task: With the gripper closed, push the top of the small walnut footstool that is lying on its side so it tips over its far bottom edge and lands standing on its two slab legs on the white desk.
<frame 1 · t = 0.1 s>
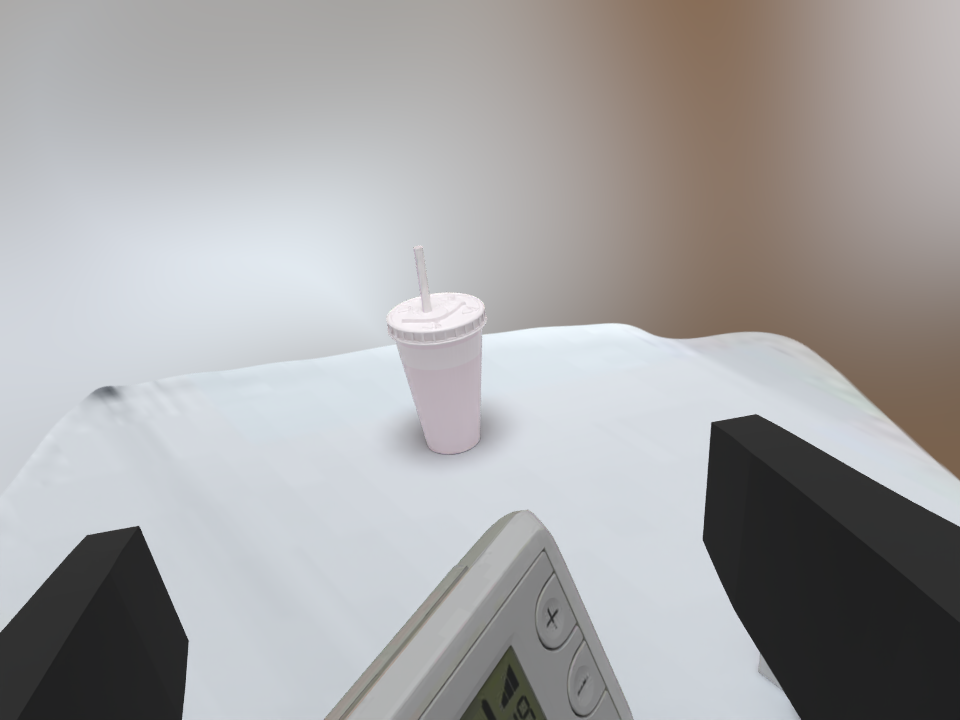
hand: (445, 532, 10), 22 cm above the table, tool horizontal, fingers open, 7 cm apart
smoothie: (454, 441, 52), on the table
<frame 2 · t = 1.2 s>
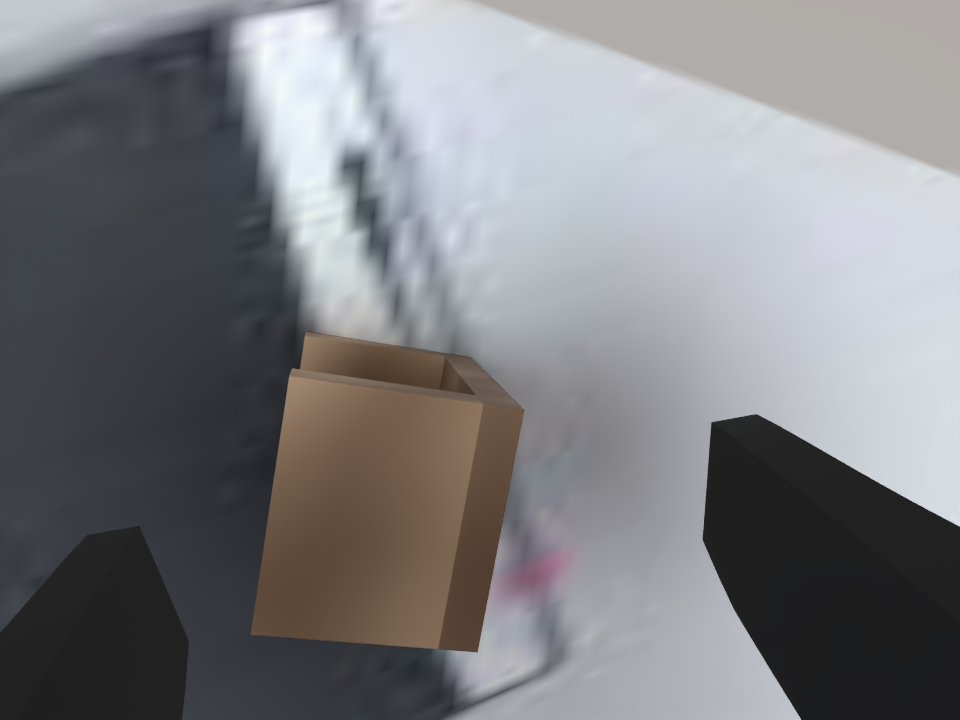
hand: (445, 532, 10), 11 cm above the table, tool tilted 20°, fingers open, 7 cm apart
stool: (360, 432, 21), on the table
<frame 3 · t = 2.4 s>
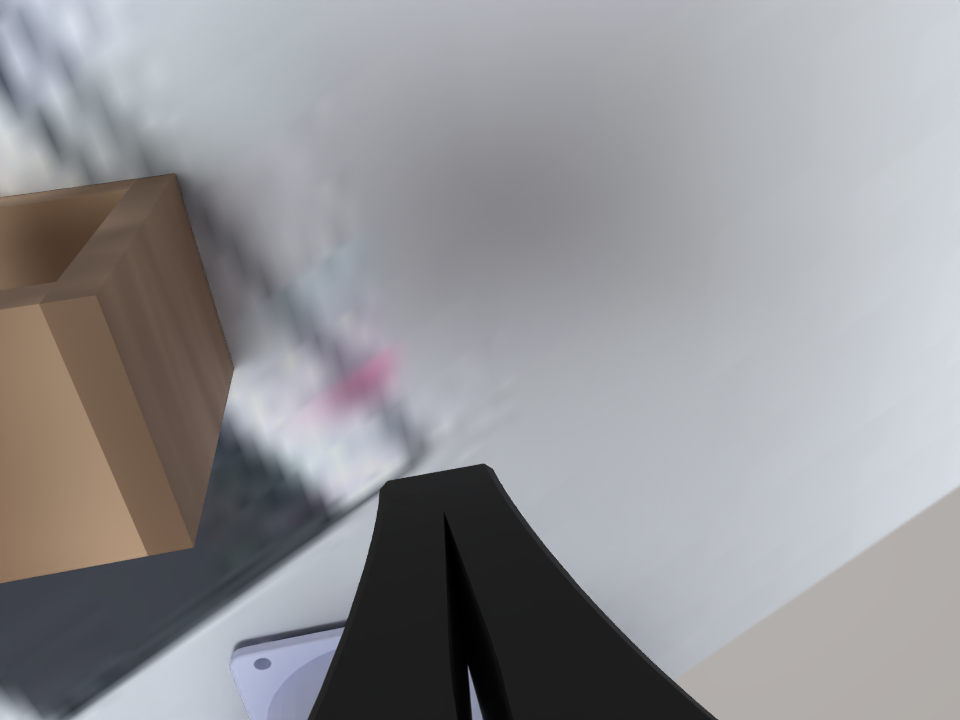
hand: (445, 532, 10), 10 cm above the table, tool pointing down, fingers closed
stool: (92, 295, 18), on the table
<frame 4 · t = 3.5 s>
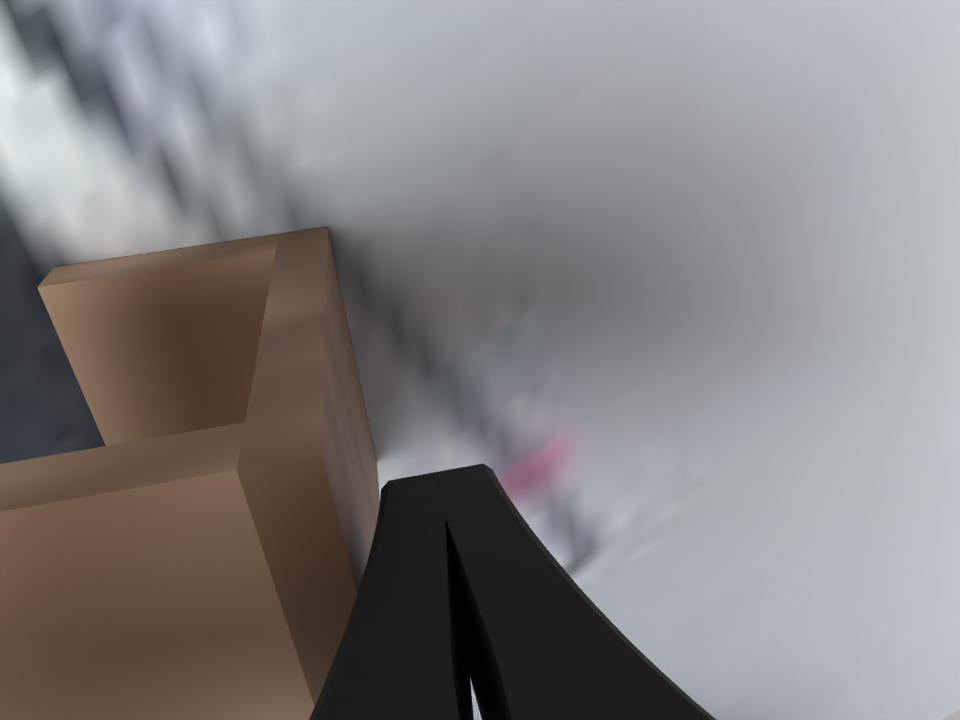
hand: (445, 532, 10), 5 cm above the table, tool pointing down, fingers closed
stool: (210, 379, 14), on the table, touching gripper
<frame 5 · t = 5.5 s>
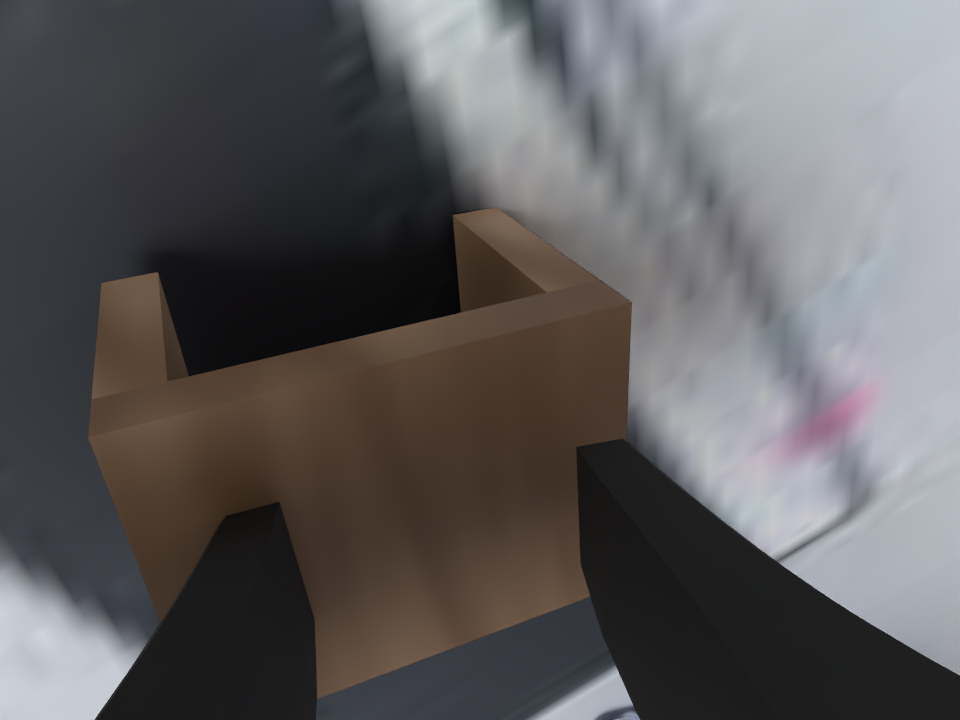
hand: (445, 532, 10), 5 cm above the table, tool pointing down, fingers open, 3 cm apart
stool: (544, 376, 13), point 2 cm above the table, tilted 77°, touching gripper
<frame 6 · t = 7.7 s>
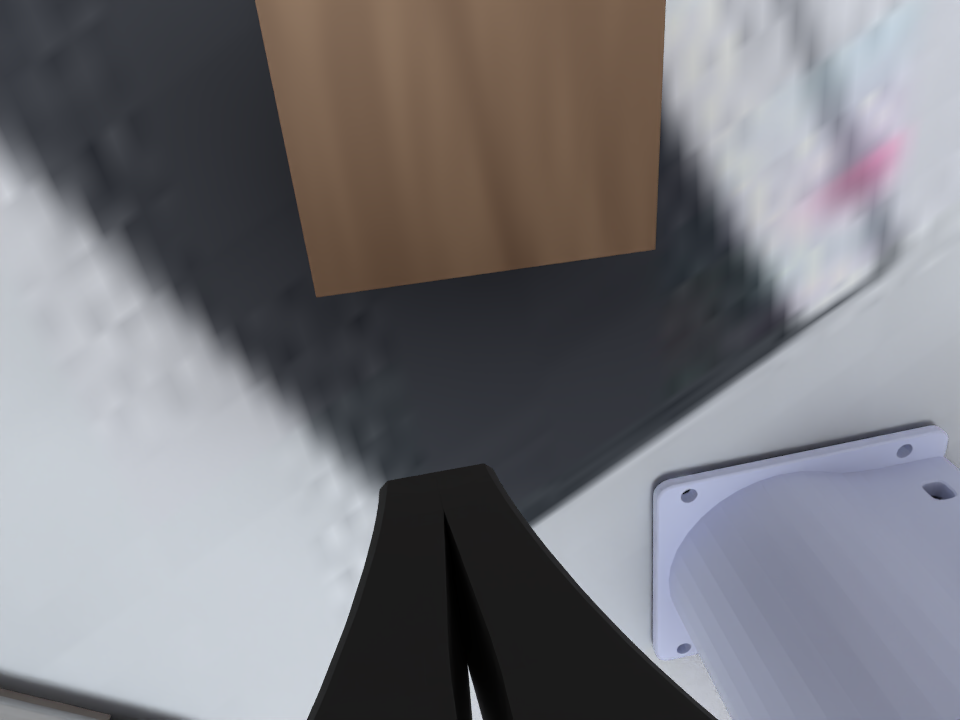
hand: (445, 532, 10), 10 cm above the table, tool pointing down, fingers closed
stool: (613, 87, 15), point 2 cm above the table, tilted 90°
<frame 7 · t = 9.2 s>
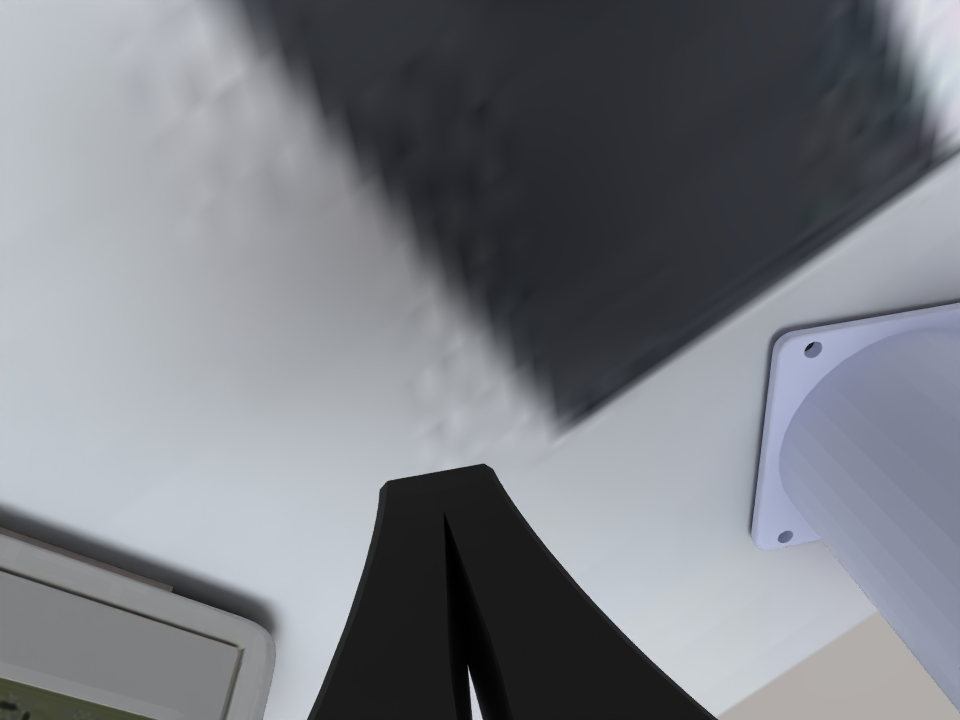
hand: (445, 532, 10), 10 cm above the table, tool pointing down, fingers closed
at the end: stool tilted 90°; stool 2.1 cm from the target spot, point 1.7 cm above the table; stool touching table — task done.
